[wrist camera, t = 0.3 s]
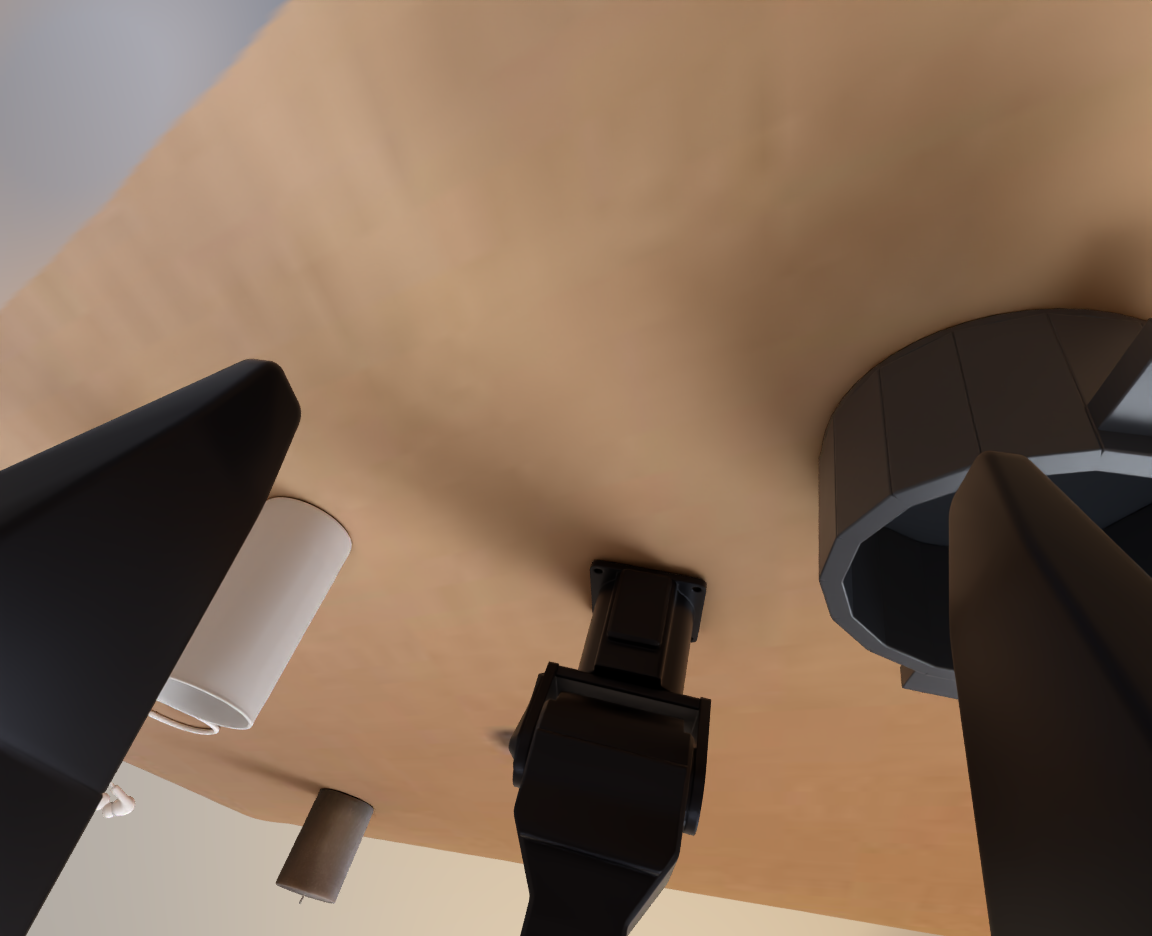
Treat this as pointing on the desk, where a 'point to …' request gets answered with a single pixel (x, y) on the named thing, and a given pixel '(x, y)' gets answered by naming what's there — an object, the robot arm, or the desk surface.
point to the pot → (948, 449)
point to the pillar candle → (325, 846)
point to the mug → (258, 614)
